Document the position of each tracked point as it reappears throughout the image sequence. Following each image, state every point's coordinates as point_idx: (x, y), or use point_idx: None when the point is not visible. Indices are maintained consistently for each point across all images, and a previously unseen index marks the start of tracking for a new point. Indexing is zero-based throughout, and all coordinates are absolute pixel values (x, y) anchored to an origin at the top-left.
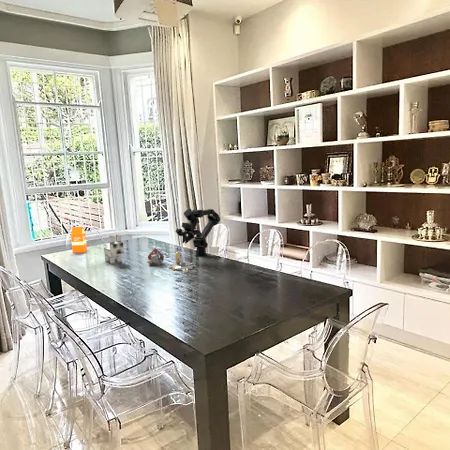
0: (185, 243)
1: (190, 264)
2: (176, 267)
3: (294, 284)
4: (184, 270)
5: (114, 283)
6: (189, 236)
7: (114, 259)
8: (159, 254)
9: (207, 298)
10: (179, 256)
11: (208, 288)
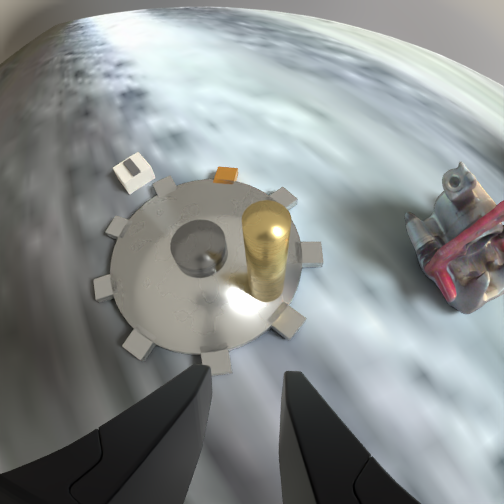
0: (208, 385)
1: (144, 301)
2: (223, 199)
3: None
4: (132, 156)
5: (351, 42)
6: (17, 480)
7: None
8: (446, 190)
9: (41, 72)
10: (245, 252)
11: (32, 101)
